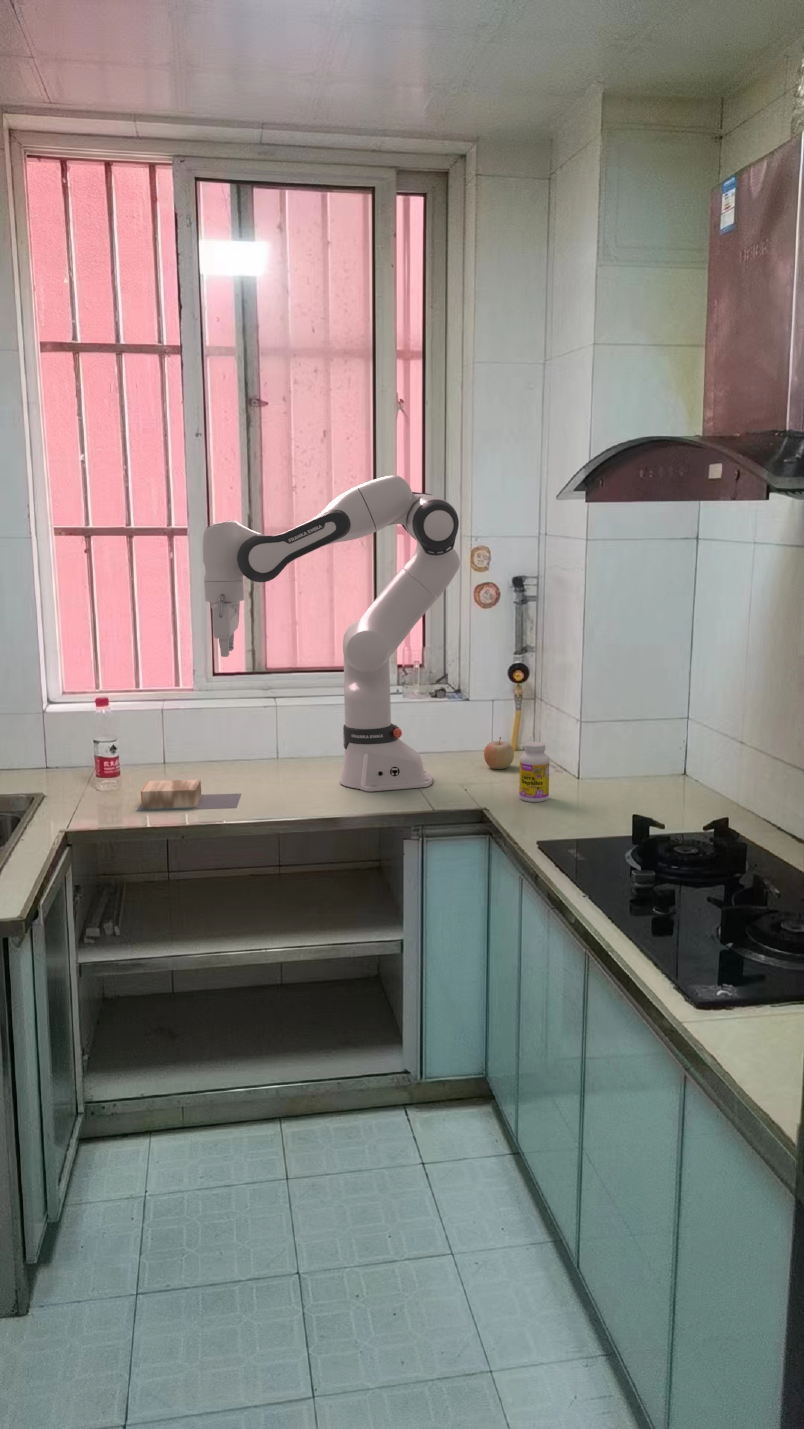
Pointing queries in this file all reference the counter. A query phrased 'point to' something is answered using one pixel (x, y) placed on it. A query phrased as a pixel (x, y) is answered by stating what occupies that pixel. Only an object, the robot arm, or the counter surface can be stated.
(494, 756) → the fruit
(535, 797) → the supplement bottle
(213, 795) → the rubber mat
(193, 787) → the wooden block
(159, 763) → the counter surface
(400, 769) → the robot arm
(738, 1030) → the counter surface
